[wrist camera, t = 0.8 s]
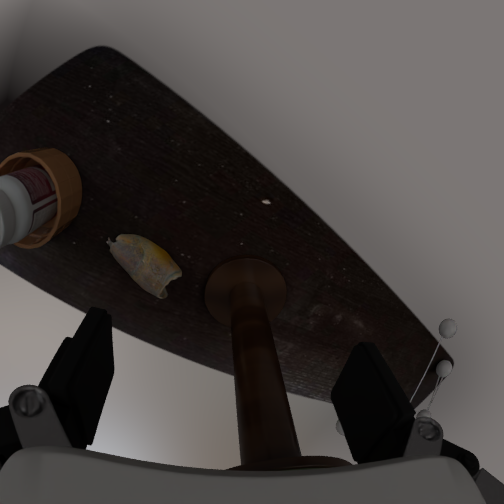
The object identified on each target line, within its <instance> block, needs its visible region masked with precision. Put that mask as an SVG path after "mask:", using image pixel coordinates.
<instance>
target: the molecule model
mask: <svg viewBox="0 0 504 504" xmlns="http://www.w3.org/2000/svg"><path fill="white" fill-rule="evenodd" d="M456 330H457V325H456V323H455V322H454V320H452V319H445V320H443V321H442V322H441V324H440V326H439V333H440V335H441V336H442V337H443V338H451V337H453V335H455V333H456ZM442 337H441V339H442ZM440 341H441V340H440ZM439 344H440V342H439ZM439 344H438V346H439ZM438 346H437V348H438ZM437 348H436V351H437ZM436 351H435V353H436ZM435 353H434V355H435ZM434 355H433V357H434ZM433 357H432V359H433ZM432 359H431V361H432ZM431 361H430V363H431ZM430 363H429V366H430ZM429 366H428V368H429ZM428 368H427V370H428ZM427 370H426V372H427ZM451 371H452V364H451V363H450V362H449V361H447V360H443V361H441V362H439V363H438V365H437V367H436V372H437V374H438V375H439V378H440V377H442V379H443V377H446V376H448V375H449V374H450V373H451ZM426 372H425V374H426ZM425 374H424V376H425ZM424 376H423V378H424ZM423 378H422V380H423ZM439 378H438V381H439ZM442 379H441V381H442ZM422 380H421V381H420V383H419V385H420V384H421V382H422ZM438 381H437V384H438ZM441 381H440V383H441ZM437 384H436V387H437ZM419 385H418V387H419ZM439 385H440V384H439ZM418 387H417V389H418ZM436 387H435V390H436ZM438 387H439V386H438ZM417 389H416V391H417ZM435 390H434V392H435ZM437 390H438V388H437ZM437 390H436V392H437ZM416 391H415V393H416ZM436 392H435V394H436ZM415 393H414V395H415ZM435 394H434V393H433V396H432V399H431V402H430V404H431V403H432V401H433V398H434V396H435ZM414 395H413V396H412V398H413V397H414ZM412 398H411V400H412ZM411 400H410V402H411ZM430 404H429V407H430ZM429 407H428V409H427V410H421V411H420V412H419V413H418V414H417V417H416V419H417V418H418V417H422V416H425V417H429V418H431V413H430V412H429V411H428V410H429ZM336 429H337V431H338V432H339V433H340V434H341V435H344V432H343V429H342V427H341V424H340V421H339V420H338V421H337V423H336ZM344 436H345V435H344Z"/></svg>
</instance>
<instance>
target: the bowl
mask: <svg viewBox="0 0 504 504" xmlns="http://www.w3.org/2000/svg"><path fill="white" fill-rule="evenodd" d="M38 164H41V165H42V166H43V167H44V168H45V169H46V171H47V172H48V173H49V175H50V177H51V179H52V181H53V183H54V185H55V190H56V195H57V199H58V203H57V216H56V217H54V218H52V219H51V220H50V221H48V222H46V223H45V224H43V225H42V226H40V227H39V228H37V229H36V230H34V231H33V232H32V233H30V234H29V235H27V236H26V237H24V238H23V239H22V240H20V241H18V242H16V243H14V244H15V245H17V246H18V247H22V248H27V249H32V248H37V247H41V246H42V245H44V244H45V243H46V242H48V241H49V240H51V239H52V238H53V237H55V236H56V235H57V234H58V233H60V232H61V231H62V230H64V229H65V228H66V227H68V226H69V225H70V224H71V223H72V221H73V220H74V219H75V217H76V216H77V214H78V211H79V208H80V205H81V199H82V183H81V178H80V175H79V172H78V170H77V168H76V166H75V164H74V163H73V162H72V160H71V159H70V158H69V157H68V156H67V155H66V154H64V153H63V152H61V151H59V150H57V149H55V148H38V149H33V150H28V151H23V152H19V153H16V154H13V155H11V156H8V157H7V158H6V159H5V160H4V161H3V162H2V163H1V164H0V176H2V175H6V174H9V173H12V172H15V171H18V170H21V169H24V168H27V167H31V166H34V165H38Z"/></svg>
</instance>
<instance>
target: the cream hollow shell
mask: <svg viewBox="0 0 504 504" xmlns="http://www.w3.org/2000/svg"><path fill="white" fill-rule="evenodd" d="M108 240H109V241H106V242H107V244H109V246H110V252H111V253H112V254H113V256H114V258H115V259H116V260H117V262H118V263H119V264H120V265H121V266H122V267H123V268H124V270H125V271H126V272H127V273H129V275H130V276H131V277H132V279H133V280H134V281H135V282H137V283H138V284H139V285H140V287H142V288H143V289H144V290H146V291H147V292H149V293H151V294H153V295H155V296H157V297H158V298H161V299H164V298H166V297H167V295H168V294H167V291H166V288H165V286H166V285H168V284H169V282H170V281H171V280H172V279H173V280H175V279H177V277H181V276H182V271H181V269H180V268H179V267H178V265H177V264H176V263H175V262H174V261H173V260H172V258H171V257H170V255H169V254H168V253H167V252H166V251H165V250H164V249H162V248H161V247H159V246H158V245H156V244H155V243H153V242H152V241H150V240H148V239H146V238H144V237H141V236H139V235H135V234H121V235H119V236H118V237H117V238H116V240H117V241H116V242H115V243H113V242H112V241H111V240H110V238H109V237H108Z"/></svg>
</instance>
